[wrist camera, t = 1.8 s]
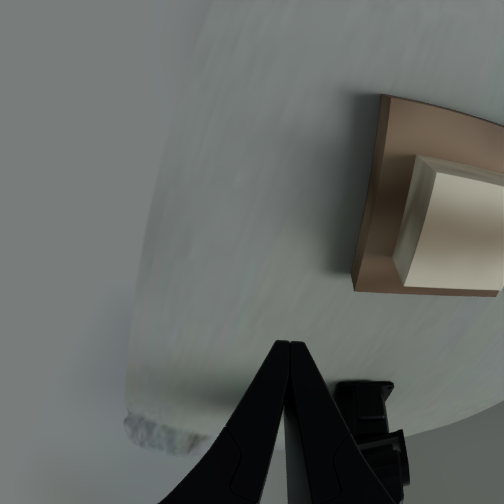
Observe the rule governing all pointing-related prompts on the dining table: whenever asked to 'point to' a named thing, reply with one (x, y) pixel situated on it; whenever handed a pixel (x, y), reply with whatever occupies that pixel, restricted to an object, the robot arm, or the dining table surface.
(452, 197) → the birch tile
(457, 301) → the dining table surface
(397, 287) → the walnut board
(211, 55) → the dining table surface
